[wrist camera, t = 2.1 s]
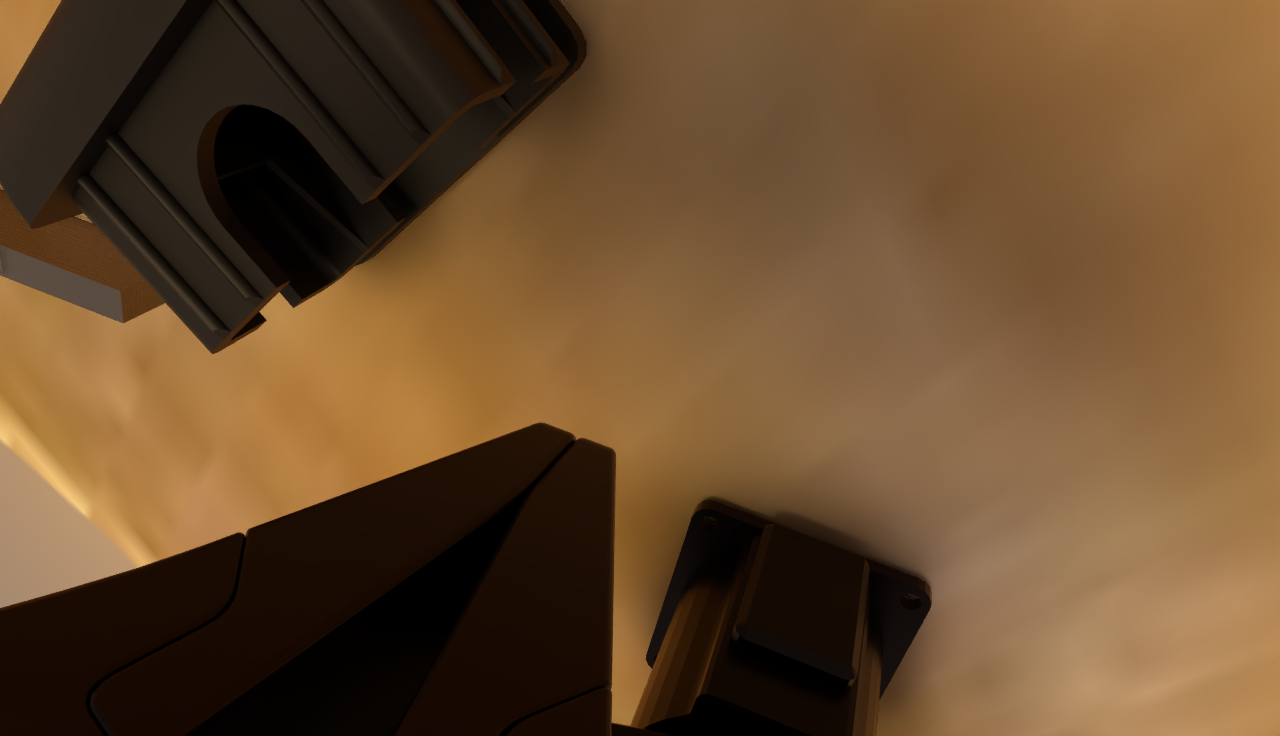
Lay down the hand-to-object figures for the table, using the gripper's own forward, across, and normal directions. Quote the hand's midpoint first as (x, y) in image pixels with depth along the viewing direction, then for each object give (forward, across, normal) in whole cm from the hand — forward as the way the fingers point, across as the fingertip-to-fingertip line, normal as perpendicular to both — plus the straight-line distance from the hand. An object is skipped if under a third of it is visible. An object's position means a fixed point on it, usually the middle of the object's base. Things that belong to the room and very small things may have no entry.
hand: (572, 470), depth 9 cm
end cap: (+12, +10, 0) cm, 16 cm away
